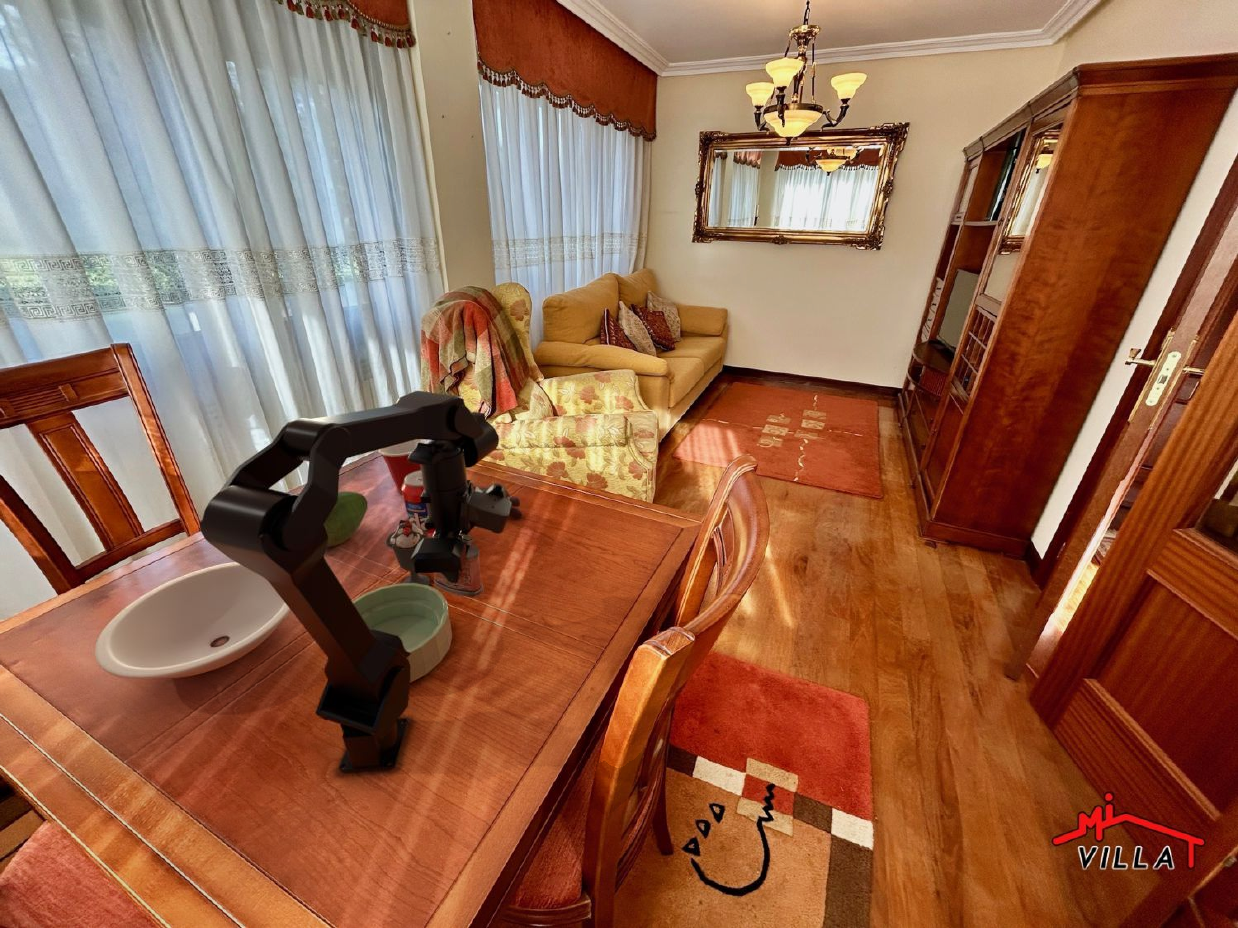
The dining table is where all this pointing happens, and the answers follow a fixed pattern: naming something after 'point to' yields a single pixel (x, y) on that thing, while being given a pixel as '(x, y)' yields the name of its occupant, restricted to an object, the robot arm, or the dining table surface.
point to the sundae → (407, 548)
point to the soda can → (415, 501)
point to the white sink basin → (191, 624)
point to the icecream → (514, 502)
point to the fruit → (345, 517)
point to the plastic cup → (400, 461)
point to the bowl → (410, 621)
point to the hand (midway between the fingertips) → (457, 572)
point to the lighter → (464, 574)
